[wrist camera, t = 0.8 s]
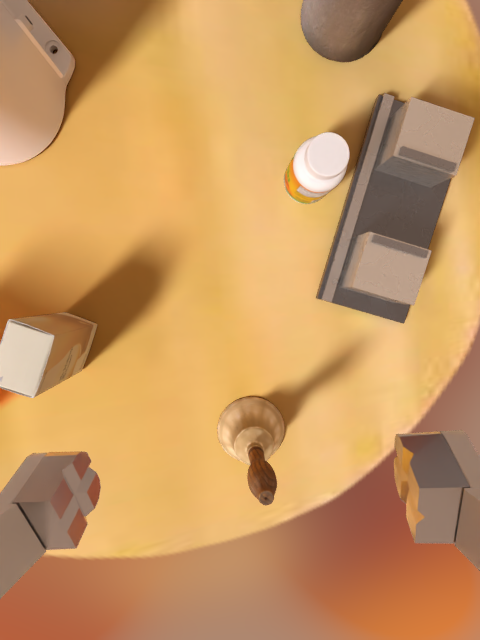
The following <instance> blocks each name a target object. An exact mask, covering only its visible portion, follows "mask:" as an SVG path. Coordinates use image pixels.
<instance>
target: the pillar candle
mask: <svg viewBox="0 0 480 640" xmlns="http://www.w3.org/2000/svg"><path fill="white" fill-rule="evenodd" d="M402 1H403V0H303V4H302V9H301V25H302V30H303V33H304V36H305V38H306V40H307V42H308V43H309V45H310V46H311V47H312V48H313V49H314V50H315V51H316V52H317V53H318V54H320V55H321V56H323V57H325V58H327V59H329V60H334V61H338V62H351V61H354V60H357V59H360V58H361V57H363V56H364V55H366V54H368V53H369V52H370V51H371V50H372V49H373V48H374V47H375V45H376V44H377V42H378V41H379V39H380V37H381V35H382V32H383V31H384V29H385V27H386V26H387V24H388V23H389V21H390V20H391V18H392V17H393V15H394V13H395V12H396V10H397V9H398V7H399V5H400V4H401V2H402Z"/></svg>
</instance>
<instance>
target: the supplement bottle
mask: <svg viewBox="0 0 480 640" xmlns="http://www.w3.org/2000/svg"><path fill="white" fill-rule="evenodd" d="M349 156H350V152H349V147H348V144H347V143H346V141H345V140H344V139H343V138H342V137H341V136H340V135H338V134H336V133H332V132H325V133H322V134H319V135H317V136H315V137H312V138H310V139H308V140H306V141H305V142H304V143H303V144H302V145H301V146H300V147H299V148H298V150H297V152H296V153H295V155H294V157H293V159H292V161H291V162H290V164H289V166H288V167H287V169H286V172H285V175H284V186H285V189H286V192H287V193H288V195H289V196H290V197H291V198H292V199H293V200H295V201H296V202H299V203H302V204H311V203H315V202H317V201H319V200H320V199H322V198H323V197H324V196H325V195H326V194H328V193H329V192H330V191H331V190H332V189H333V188H335V187H336V186H337V185H338V184H339V183H340V182H341V180H342V179H343V177H344V175H345V173H346V169H347V164H348V161H349Z"/></svg>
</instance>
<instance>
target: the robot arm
mask: <svg viewBox="0 0 480 640" xmlns="http://www.w3.org/2000/svg"><path fill="white" fill-rule="evenodd" d="M55 49H58V51H57V53H55V54H52V53H53V51H54V50H55ZM74 68H75V59H74V57H73V55H72V54H71V52H70V51H69V50H68V49H67V48H66V46H65V45H64V44H63V43H62V42H61V40H60V39H59V38H58V37H57V36H56V34H55V33H54V32H53V31H52V29H51V28H50V27H49V26H48V25H47V23H46V22H45V21H44V20H43V19H42V17H41V16H40V15H39V14H38V13H37V11H36V10H35V9H34V8H33V7H32V5H31V4H30V3H29V2H28V0H0V165H13V164H18V163H21V162H24V161H27V160H29V159H31V158H33V157H35V156H36V155H38V154H39V153H41V152H42V151H43V150H44V149H45V148H46V147H47V146H48V145H49V144H50V143H51V142H52V140H53V139H54V137H55V136H56V134H57V132H58V130H59V128H60V126H61V123H62V120H63V116H64V109H65V92H66V86H67V84H68V82H69V80H70V78H71V76H72V74H73V71H74ZM395 449H396V452H397V455H398V456H397V457H396V458H395V459H394V474H395V481H396V485H397V490H398V493H399V496H400V499H401V500H402V501H403V502H405V503H406V504H407V505H406V518H407V521H408V523H409V527H410V529H411V533H412V536H413V539H414V541H415V543H455V546H456V547H457V548H458V549H459V550H460V551H461V552H462V553H463V554H464V555H465V556H466V557H467V558H468V559H469V560H470V561H471V562H472V563H473V564H474V565H475V566H476V567H477V569H478V570H479V571H480V456H479V454H478V452H477V451H476V449H475V447H474V446H473V444H472V442H471V441H470V439H469V437H468V436H467V434H466V433H465V432H464V431H462V430H455V431H440V432H425V433H409V434H396V437H395ZM90 463H91V459H90V458H89V456H88V454H87V452H82V451H81V452H49V453H32V454H31V455H29V456H27V457H26V459H25V460H24V462H23V463H22V464H21V466H20V467H19V468H18V470H17V471H16V473H15V474H14V475H13V477H12V478H11V479H10V481H9V482H8V484H7V485H6V486H5V488H4V489H3V490H2V492H1V493H0V598H1V597H2V596H3V595H4V594H5V593H6V592H7V591H8V590H9V589H10V588H11V587H12V586H13V585H14V584H15V583H16V582H17V581H18V580H19V579H20V578H21V577H22V576H23V575H24V574H25V573H26V572H27V571H28V570H29V569H30V567H32V566H33V564H34V563H35V562H36V561H37V560H38V559H39V558H40V557H41V556H42V555H43V554H44V553H45V552H46V550H52V549H73V548H77V546H78V544H79V541H80V539H81V537H82V535H83V533H84V531H85V528H86V526H87V520H86V516H87V515H88V514H89V513H90V512H91V511H92V510H93V509H95V506H96V504H97V502H98V499H99V494H100V488H101V487H100V480H99V477H98V475H97V473H96V472H95V471H94V470H92V469H91V468H89V465H90Z"/></svg>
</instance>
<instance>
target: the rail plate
mask: <svg viewBox="0 0 480 640" xmlns="http://www.w3.org/2000/svg"><path fill="white" fill-rule="evenodd" d="M394 97H395V96H392V95H389V94H386V93H384V94H383V96H382V95H378V97H377V98H376V101H375V104H374V107H373V111H372V114H371V117H370V121H369V124H368V127H367V131H366V134H365V137H364V140H363V144H362V147H361V150H360V154H359V157H358V160H357V164H356V167H355V170H354V173H353V177H352V180H351V183H350V187H349V190H348V193H347V197H346V200H345V203H344V206H343V210H342V213H341V216H340V220H339V223H338V226H337V230H336V233H335V236H334V239H333V243H332V246H331V249H330V253H329V256H328V259H327V263H326V266H325V269H324V272H323V276H322V279H321V282H320V286H319V289H318V292H317V296H316V298H317V299H321V300H324V301H328V302H331V303H335V304H338V305H342V306H345V307H348V308H352V309H355V310H359V311H362V312H366V313H369V314H372V315H376V316H379V317H383V318H386V319H390V320H393V321H397V322H400V323H404V322H405V319H406V316H407V312H408V309H409V306H410V305H414V304H415V301H416V298H417V295H418V292H419V288H420V285H421V282H422V279H423V276H424V273H425V270H426V267H427V264H428V261H429V258H430V255H431V250H428V247H429V244H430V241H431V238H432V235H433V232H434V229H435V226H436V223H437V220H438V217H439V213H440V210H441V207H442V204H443V201H444V198H445V195H446V192H447V189H448V186H449V182H450V179H451V178H452V177H454V176H456V174H457V171H458V168H459V165H460V162H461V159H462V156H463V153H464V150H465V147H466V144H467V140H468V137H469V134H470V131H471V128H472V125H473V122H474V119H475V118H473V117H470V116H467V115H464V114H461V113H458V112H455V111H452V110H449V109H446V108H443V107H440V106H437V105H434V104H431V103H428V102H425V101H422V100H419V99H416V98H413V97H411V98H410V99H409V100H408V101H407V102H406V103H403V102H400V101H397V100H394Z"/></svg>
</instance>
